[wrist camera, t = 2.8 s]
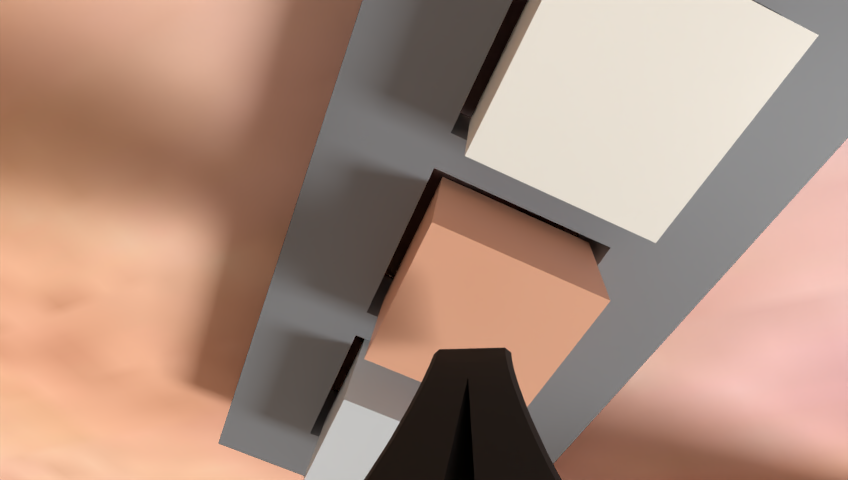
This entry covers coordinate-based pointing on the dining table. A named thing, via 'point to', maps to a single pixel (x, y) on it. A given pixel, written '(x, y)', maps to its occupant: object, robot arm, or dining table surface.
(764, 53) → the cream key
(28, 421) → the dining table surface
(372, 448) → the grey key
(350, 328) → the key board
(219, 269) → the dining table surface
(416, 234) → the terracotta key
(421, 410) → the robot arm
